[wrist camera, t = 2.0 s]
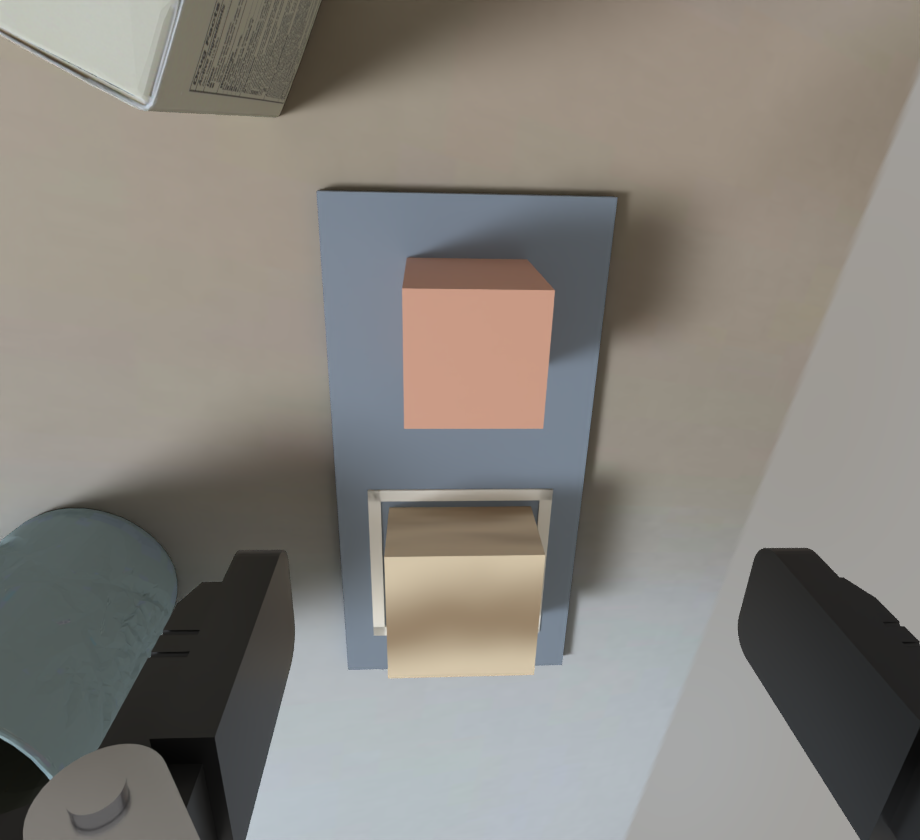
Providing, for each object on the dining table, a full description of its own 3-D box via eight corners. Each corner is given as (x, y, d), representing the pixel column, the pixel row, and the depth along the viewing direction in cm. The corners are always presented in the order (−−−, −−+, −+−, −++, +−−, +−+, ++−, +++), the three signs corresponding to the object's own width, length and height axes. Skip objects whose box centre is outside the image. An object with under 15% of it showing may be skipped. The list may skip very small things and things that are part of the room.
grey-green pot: (225, 620, 33) (128, 853, 22) (59, 674, 34) (-112, 923, 23) (121, 465, 29) (-59, 656, 18) (-63, 531, 30) (-340, 750, 19)
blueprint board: (318, 190, 25) (316, 191, 24) (613, 196, 26) (618, 197, 25) (349, 661, 35) (347, 671, 34) (559, 656, 36) (562, 666, 35)
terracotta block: (406, 257, 26) (401, 288, 20) (527, 259, 26) (555, 290, 20) (408, 372, 28) (404, 428, 22) (519, 372, 28) (543, 428, 22)
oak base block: (389, 507, 30) (384, 557, 27) (531, 506, 31) (545, 555, 27) (392, 619, 33) (388, 678, 30) (522, 617, 34) (533, 674, 30)
